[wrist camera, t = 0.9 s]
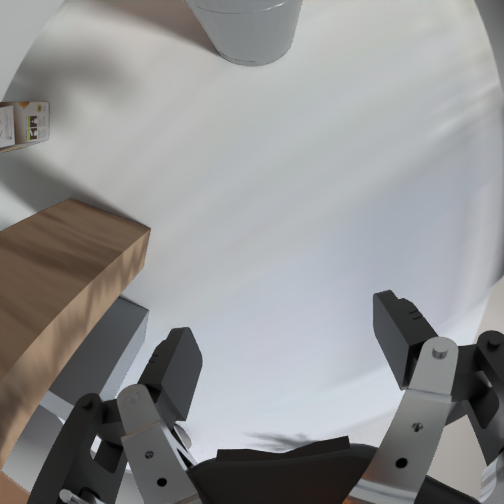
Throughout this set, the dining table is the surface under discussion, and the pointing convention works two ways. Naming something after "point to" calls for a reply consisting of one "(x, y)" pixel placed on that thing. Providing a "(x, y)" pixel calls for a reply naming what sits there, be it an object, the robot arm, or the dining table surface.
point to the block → (12, 491)
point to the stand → (56, 297)
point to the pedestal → (100, 359)
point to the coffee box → (23, 124)
